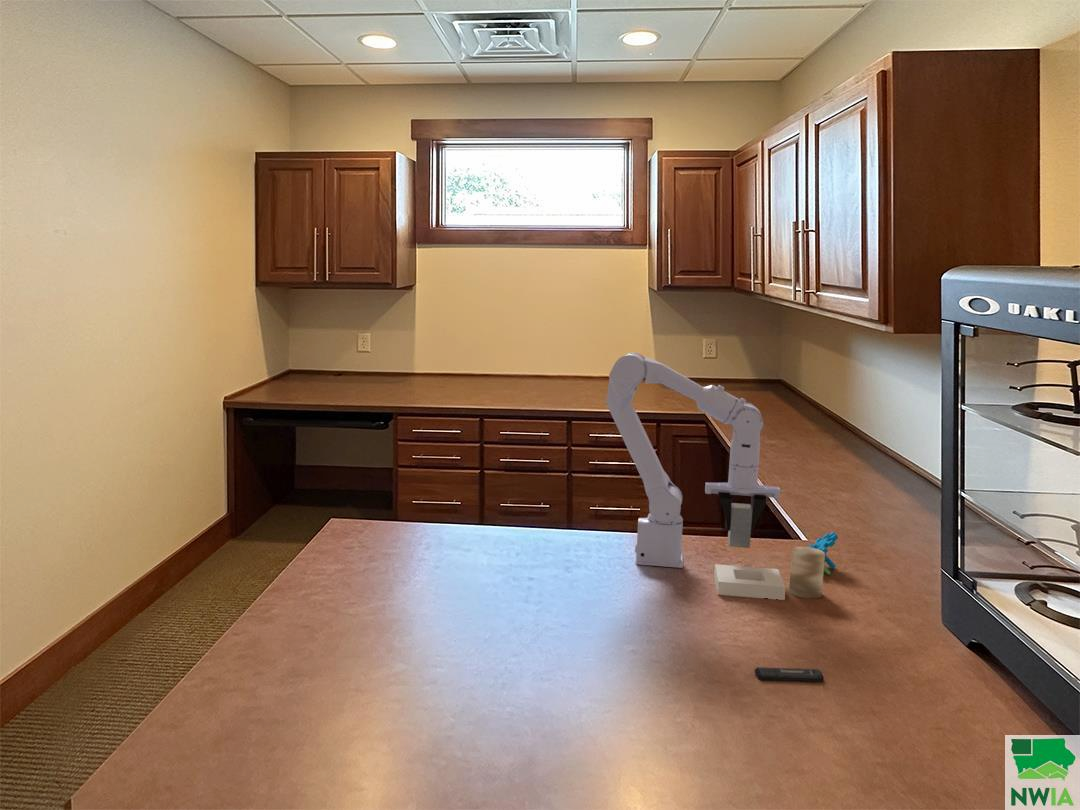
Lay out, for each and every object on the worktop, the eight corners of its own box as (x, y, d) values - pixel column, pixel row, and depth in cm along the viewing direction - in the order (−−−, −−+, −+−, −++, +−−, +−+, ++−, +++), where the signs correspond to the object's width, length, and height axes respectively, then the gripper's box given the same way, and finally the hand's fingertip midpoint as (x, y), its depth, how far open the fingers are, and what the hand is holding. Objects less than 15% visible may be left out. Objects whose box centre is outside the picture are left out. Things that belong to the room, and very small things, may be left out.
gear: (798, 548, 169) (835, 523, 164) (817, 569, 168) (855, 544, 164) (791, 570, 159) (830, 543, 155) (811, 592, 159) (851, 566, 154)
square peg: (729, 546, 158) (731, 507, 157) (727, 540, 161) (730, 502, 160) (749, 548, 157) (752, 509, 156) (747, 542, 161) (750, 504, 160)
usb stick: (757, 683, 112) (758, 673, 112) (753, 674, 114) (753, 664, 114) (824, 685, 112) (825, 675, 111) (818, 677, 114) (819, 667, 114)
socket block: (717, 594, 145) (718, 581, 145) (714, 576, 155) (714, 564, 154) (784, 600, 143) (785, 587, 143) (776, 581, 153) (777, 569, 153)
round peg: (791, 597, 145) (794, 555, 144) (787, 586, 151) (789, 545, 150) (824, 599, 144) (827, 557, 143) (818, 588, 150) (821, 548, 149)
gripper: (708, 466, 154) (704, 532, 156) (784, 470, 152) (779, 538, 154) (706, 459, 161) (702, 523, 163) (779, 463, 159) (774, 528, 161)
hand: (739, 530), depth 159 cm, fingers closed on square peg, 4 cm apart
